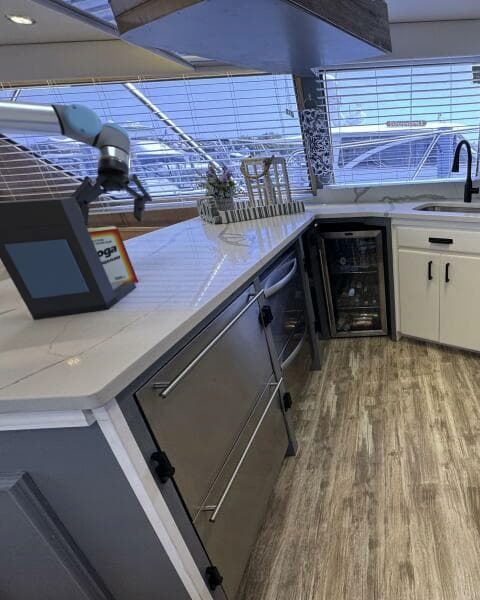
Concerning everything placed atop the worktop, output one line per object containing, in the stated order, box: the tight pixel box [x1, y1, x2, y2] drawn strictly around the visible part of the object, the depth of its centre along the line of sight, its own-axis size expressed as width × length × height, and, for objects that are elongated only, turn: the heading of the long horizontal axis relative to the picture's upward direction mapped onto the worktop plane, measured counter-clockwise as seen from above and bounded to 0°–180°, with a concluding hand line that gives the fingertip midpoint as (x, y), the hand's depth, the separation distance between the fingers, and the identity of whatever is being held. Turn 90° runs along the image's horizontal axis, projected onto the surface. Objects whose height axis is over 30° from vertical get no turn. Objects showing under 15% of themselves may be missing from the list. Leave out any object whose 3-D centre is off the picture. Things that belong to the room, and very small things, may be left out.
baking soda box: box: [87, 225, 139, 284], centre depth 90 cm, size 10×6×16 cm
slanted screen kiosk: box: [0, 196, 137, 321], centre depth 76 cm, size 14×16×25 cm
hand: (110, 220), depth 95 cm, fingers open, 13 cm apart
